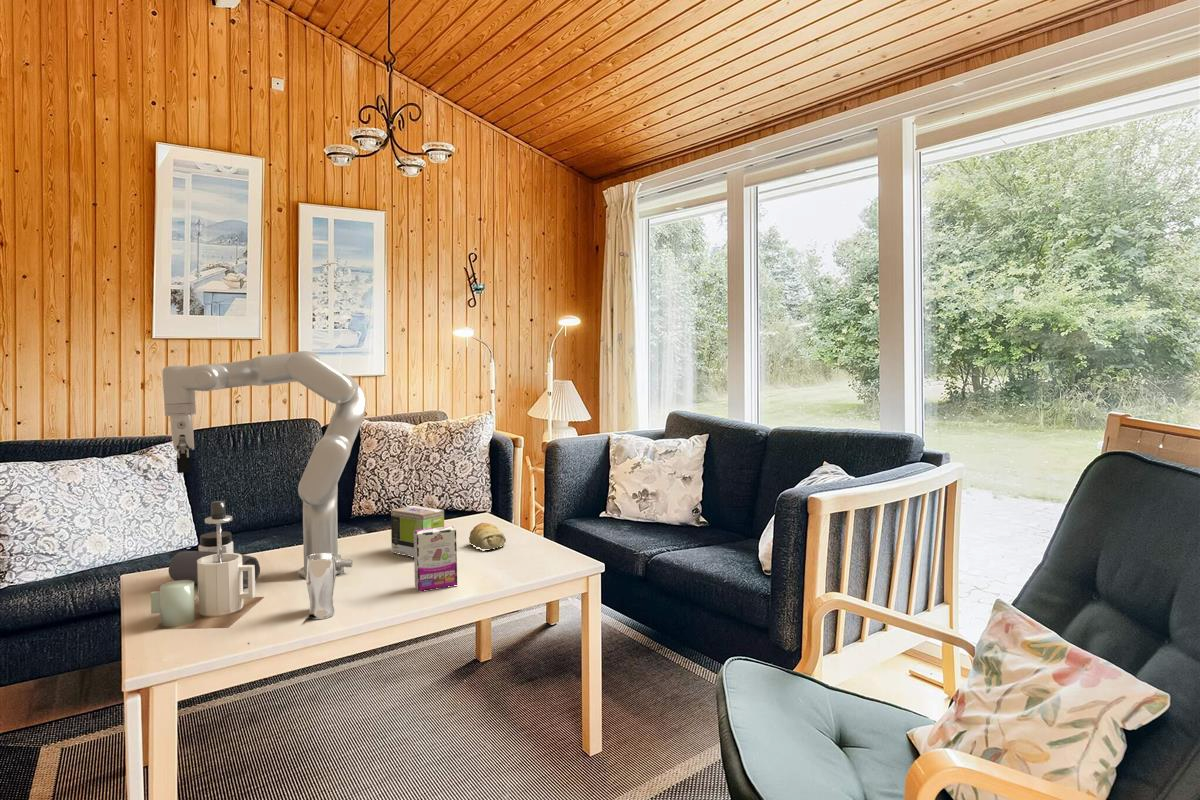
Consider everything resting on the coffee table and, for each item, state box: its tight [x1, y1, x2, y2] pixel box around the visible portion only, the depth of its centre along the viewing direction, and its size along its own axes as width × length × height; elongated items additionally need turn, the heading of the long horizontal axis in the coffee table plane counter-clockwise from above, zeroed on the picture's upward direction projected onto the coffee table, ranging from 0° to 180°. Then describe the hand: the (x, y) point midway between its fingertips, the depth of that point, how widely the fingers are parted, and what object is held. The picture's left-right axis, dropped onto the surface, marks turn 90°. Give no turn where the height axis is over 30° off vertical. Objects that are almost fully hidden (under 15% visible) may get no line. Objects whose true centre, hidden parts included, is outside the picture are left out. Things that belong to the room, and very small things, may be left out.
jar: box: [198, 530, 234, 553], centre depth 205 cm, size 9×8×12 cm
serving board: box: [152, 596, 265, 630], centre depth 172 cm, size 17×21×1 cm
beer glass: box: [305, 552, 337, 620], centre depth 174 cm, size 7×7×15 cm
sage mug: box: [150, 580, 196, 627], centre depth 166 cm, size 9×7×9 cm
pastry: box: [468, 522, 507, 549], centre depth 238 cm, size 14×12×8 cm
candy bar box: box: [413, 525, 458, 592], centre depth 195 cm, size 11×5×16 cm, turn 117°
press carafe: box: [197, 552, 256, 617], centre depth 174 cm, size 13×10×13 cm
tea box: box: [390, 505, 445, 558], centre depth 228 cm, size 15×10×15 cm, turn 58°
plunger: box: [204, 500, 233, 563], centre depth 173 cm, size 7×7×17 cm
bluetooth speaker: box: [168, 550, 261, 589], centre depth 194 cm, size 23×9×10 cm, turn 77°
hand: (183, 470), depth 196 cm, fingers open, 9 cm apart
